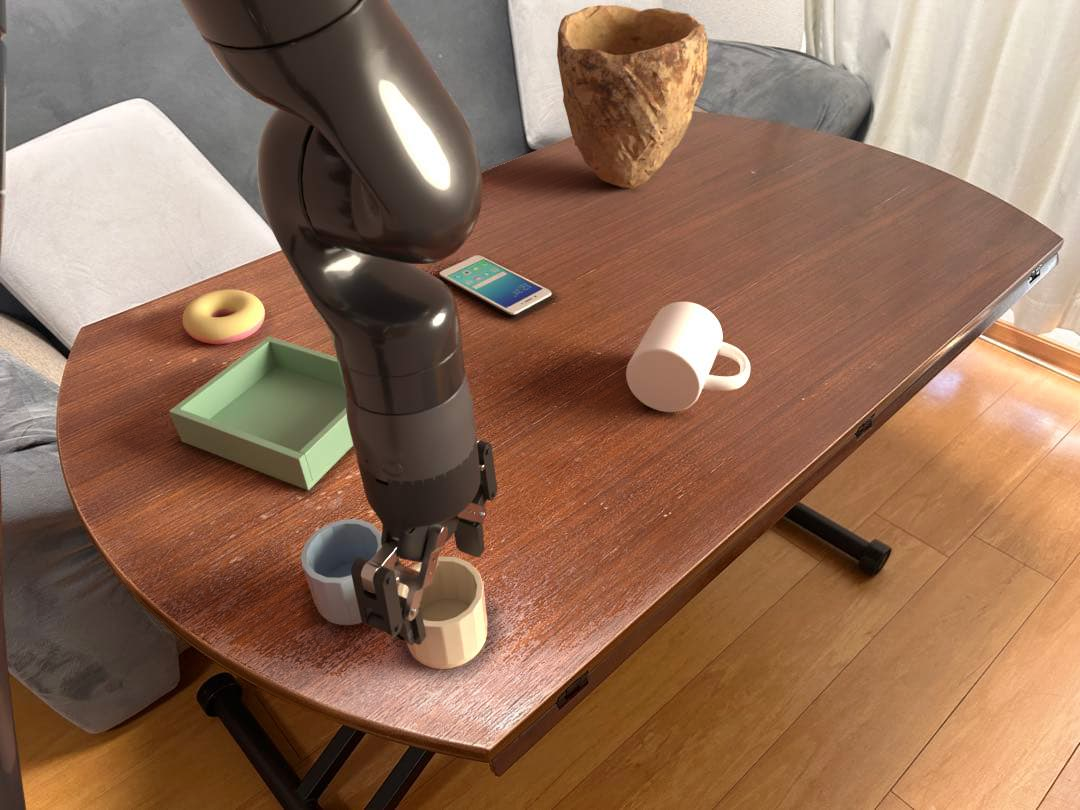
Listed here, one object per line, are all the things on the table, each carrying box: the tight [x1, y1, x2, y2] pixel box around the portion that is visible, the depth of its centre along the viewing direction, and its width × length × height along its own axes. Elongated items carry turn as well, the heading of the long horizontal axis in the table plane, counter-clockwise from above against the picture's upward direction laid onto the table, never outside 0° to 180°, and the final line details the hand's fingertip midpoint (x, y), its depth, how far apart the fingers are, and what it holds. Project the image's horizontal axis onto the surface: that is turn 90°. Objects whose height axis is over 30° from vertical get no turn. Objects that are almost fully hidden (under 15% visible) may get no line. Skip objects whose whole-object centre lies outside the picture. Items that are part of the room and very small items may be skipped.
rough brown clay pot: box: [556, 4, 709, 189], centre depth 119 cm, size 22×22×25 cm
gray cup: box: [300, 518, 382, 626], centre depth 61 cm, size 6×6×6 cm
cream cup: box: [397, 555, 488, 670], centre depth 58 cm, size 6×6×6 cm
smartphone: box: [439, 254, 552, 319], centre depth 100 cm, size 7×1×15 cm
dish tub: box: [168, 336, 354, 491], centre depth 79 cm, size 15×17×4 cm
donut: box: [182, 289, 266, 345], centre depth 94 cm, size 10×5×9 cm
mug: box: [625, 301, 751, 413], centre depth 81 cm, size 12×10×8 cm
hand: (442, 592), depth 57 cm, fingers open, 8 cm apart
